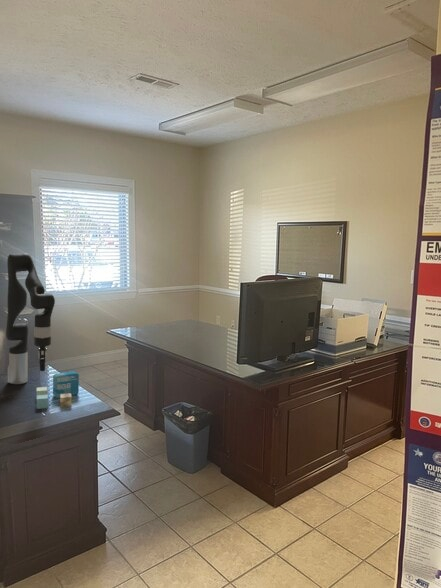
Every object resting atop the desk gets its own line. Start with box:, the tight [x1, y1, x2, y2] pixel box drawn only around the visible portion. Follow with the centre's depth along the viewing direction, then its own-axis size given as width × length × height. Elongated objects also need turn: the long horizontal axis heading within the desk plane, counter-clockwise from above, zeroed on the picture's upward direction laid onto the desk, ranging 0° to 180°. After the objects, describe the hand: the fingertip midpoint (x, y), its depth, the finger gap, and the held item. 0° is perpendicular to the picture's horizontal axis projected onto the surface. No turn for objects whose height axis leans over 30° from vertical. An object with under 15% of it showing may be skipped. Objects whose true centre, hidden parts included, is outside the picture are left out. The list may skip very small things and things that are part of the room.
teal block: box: [36, 394, 49, 410], centre depth 209 cm, size 5×5×5 cm
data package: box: [52, 370, 80, 399], centre depth 224 cm, size 12×4×12 cm, turn 127°
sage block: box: [36, 386, 48, 401], centre depth 219 cm, size 5×5×5 cm
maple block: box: [59, 393, 72, 408], centre depth 212 cm, size 5×5×5 cm
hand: (42, 368), depth 207 cm, fingers open, 8 cm apart
